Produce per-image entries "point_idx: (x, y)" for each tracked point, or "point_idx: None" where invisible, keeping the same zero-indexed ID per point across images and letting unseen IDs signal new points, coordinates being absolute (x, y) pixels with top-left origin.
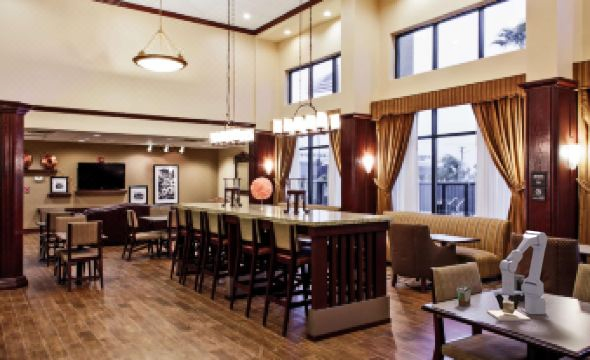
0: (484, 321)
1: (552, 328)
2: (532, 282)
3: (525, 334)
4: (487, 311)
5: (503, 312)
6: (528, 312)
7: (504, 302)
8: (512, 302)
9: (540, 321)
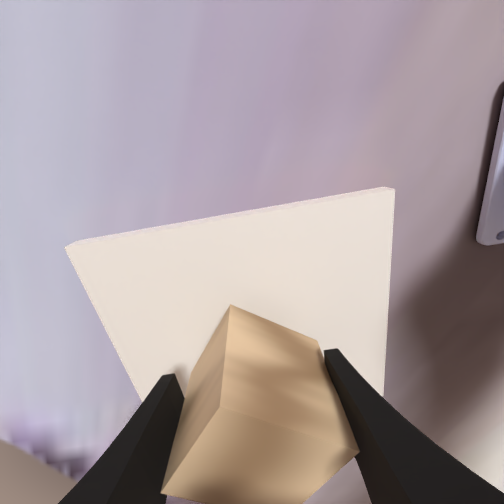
0: (60, 440)
1: None
2: None
3: None
4: (72, 255)
5: (225, 284)
6: (498, 212)
7: (197, 479)
8: (319, 466)
9: (431, 388)
